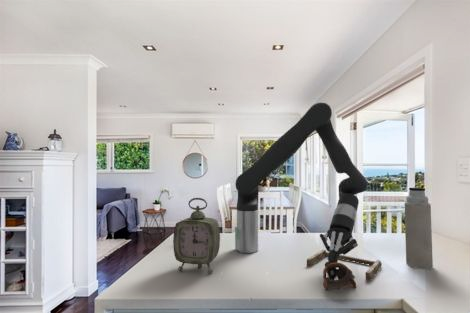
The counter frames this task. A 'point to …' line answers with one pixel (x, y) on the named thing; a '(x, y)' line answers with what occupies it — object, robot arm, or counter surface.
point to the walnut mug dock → (369, 273)
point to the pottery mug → (342, 273)
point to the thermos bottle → (418, 230)
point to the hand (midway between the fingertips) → (331, 263)
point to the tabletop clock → (196, 239)
